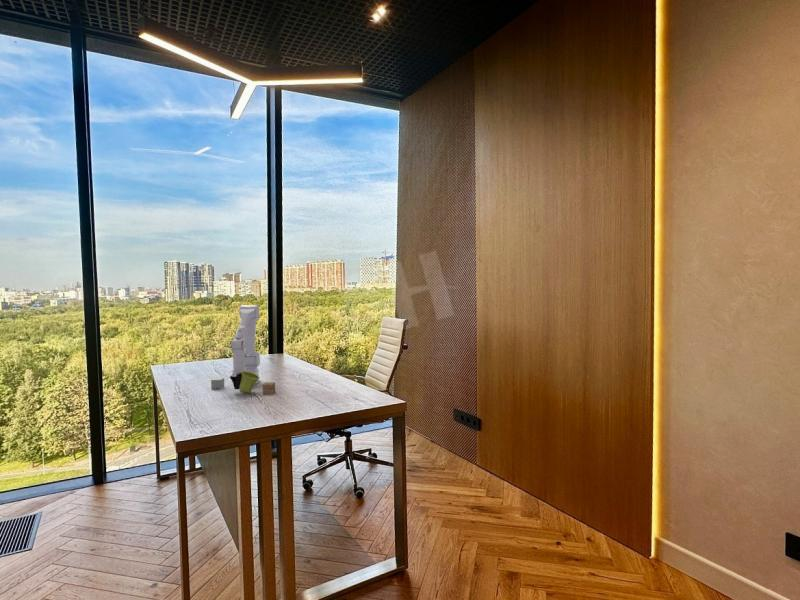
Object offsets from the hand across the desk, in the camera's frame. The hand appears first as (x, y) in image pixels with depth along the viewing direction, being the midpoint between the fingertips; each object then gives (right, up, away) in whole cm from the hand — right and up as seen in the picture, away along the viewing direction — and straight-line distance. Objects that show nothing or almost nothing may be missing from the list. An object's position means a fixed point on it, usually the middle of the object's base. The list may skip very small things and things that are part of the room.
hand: (239, 387), depth 238 cm
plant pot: (+4, -1, -3) cm, 5 cm away
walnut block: (+16, -2, -3) cm, 17 cm away
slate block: (-14, -2, +8) cm, 16 cm away
